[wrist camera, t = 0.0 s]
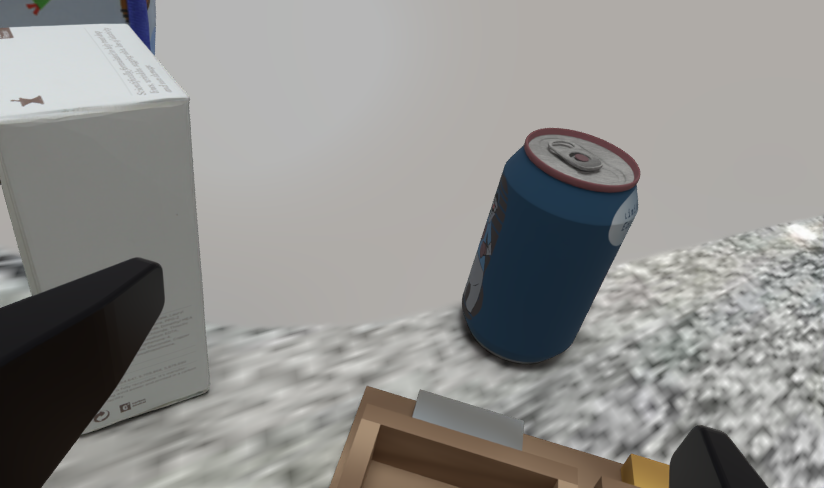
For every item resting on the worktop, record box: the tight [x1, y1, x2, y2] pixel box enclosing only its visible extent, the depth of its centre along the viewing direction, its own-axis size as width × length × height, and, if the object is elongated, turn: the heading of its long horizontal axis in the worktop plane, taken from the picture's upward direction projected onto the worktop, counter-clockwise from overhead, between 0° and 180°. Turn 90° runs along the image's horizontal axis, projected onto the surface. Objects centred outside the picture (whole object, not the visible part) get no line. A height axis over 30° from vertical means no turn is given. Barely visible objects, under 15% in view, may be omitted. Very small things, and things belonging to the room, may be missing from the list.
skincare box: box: [0, 24, 210, 434], centre depth 24 cm, size 8×6×15 cm
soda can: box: [462, 128, 640, 364], centre depth 32 cm, size 7×7×12 cm
